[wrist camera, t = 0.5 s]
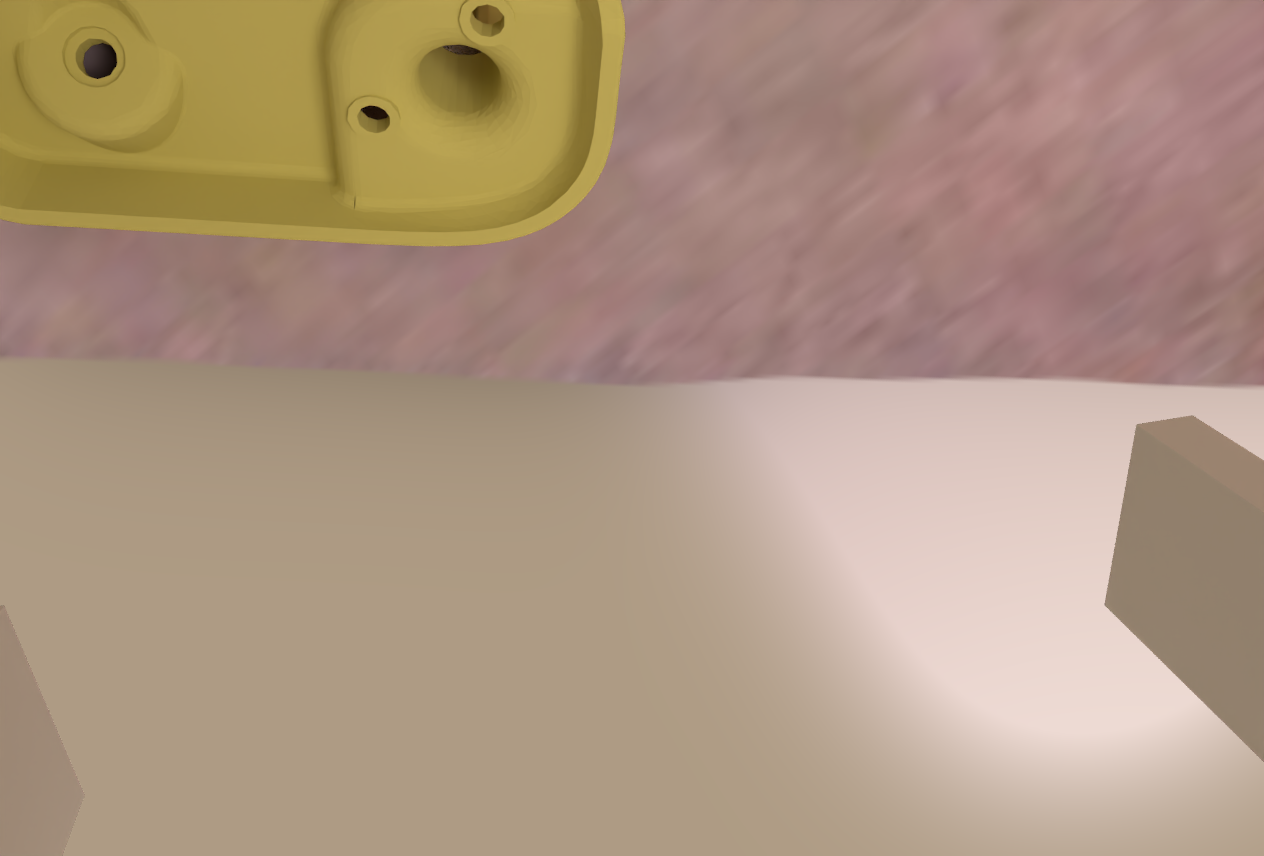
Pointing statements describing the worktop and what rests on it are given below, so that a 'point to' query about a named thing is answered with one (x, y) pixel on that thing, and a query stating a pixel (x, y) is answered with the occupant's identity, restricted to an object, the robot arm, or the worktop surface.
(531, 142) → the plastic component
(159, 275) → the worktop surface
